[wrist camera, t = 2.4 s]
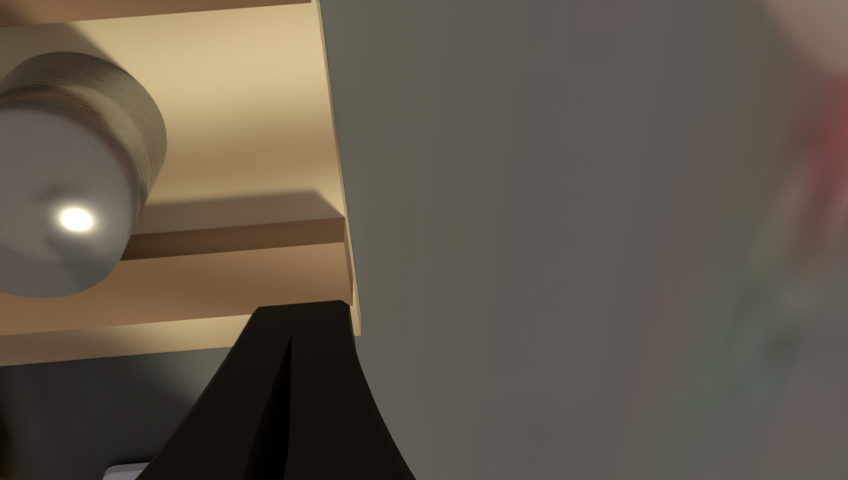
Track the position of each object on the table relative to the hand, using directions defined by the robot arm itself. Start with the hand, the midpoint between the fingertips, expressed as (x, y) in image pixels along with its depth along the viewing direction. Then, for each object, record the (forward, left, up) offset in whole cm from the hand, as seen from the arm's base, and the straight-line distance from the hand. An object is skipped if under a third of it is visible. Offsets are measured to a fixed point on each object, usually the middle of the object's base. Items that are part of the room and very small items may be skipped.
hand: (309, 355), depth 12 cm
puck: (0, +6, -9) cm, 11 cm away
